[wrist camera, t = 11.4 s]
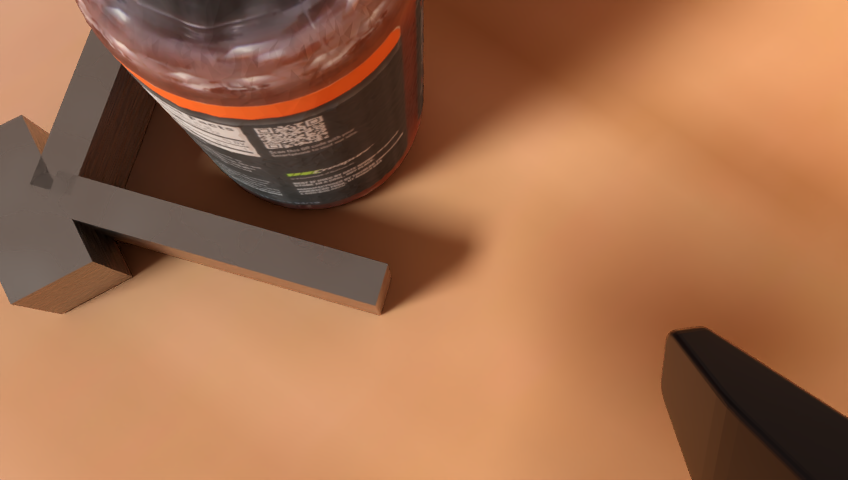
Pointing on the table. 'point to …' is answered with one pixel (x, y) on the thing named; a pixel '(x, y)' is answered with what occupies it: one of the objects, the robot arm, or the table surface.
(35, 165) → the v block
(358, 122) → the supplement bottle
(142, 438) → the table surface
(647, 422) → the table surface
